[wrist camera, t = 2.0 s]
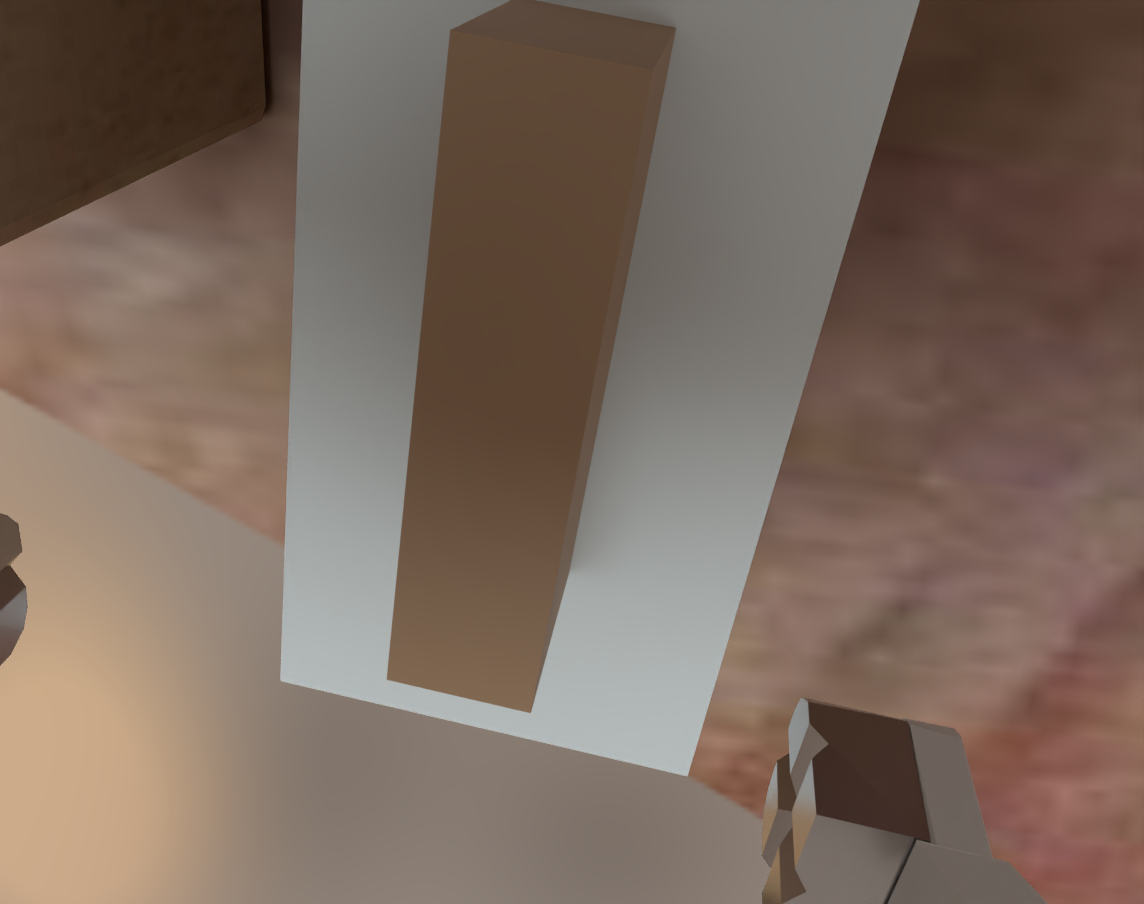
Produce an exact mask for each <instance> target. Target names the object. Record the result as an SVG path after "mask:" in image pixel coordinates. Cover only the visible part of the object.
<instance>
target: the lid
mask: <svg viewBox="0 0 1144 904" xmlns="http://www.w3.org/2000/svg"><path fill="white" fill-rule="evenodd" d="M919 1H920V0H303V14H302V44H301V74H300V104H299V134H298V165H297V195H296V225H295V255H294V285H293V316H292V346H291V376H290V406H289V436H288V467H287V497H286V527H285V558H284V588H283V589H284V590H283V620H282V621H283V622H282V649H281V679H280V681H283V682H287V683H291V684H296V685H300V686H304V687H308V688H313V689H317V690H322V691H325V692H330V693H334V694H338V695H343V696H347V697H351V698H355V699H360V700H364V701H368V702H372V703H377V704H381V705H385V706H389V707H394V708H398V709H403V710H406V711H411V712H415V713H419V714H424V715H428V716H432V717H437V718H441V719H445V720H449V721H453V722H458V723H462V724H466V725H470V726H475V727H480V728H484V729H488V730H492V731H496V732H500V733H505V734H509V735H513V736H517V737H522V738H526V739H530V740H535V741H539V742H544V743H547V744H552V745H556V746H560V747H564V748H569V749H573V750H577V751H581V752H586V753H590V754H594V755H599V756H603V757H607V758H612V759H616V760H620V761H625V762H628V763H633V764H637V765H642V766H646V767H650V768H654V769H658V770H663V771H667V772H671V773H675V774H680V775H684V776H688V773H689V769H690V766H691V763H692V759H693V756H694V753H695V749H696V746H697V743H698V739H699V736H700V732H701V729H702V726H703V722H704V719H705V716H706V712H707V709H708V706H709V702H710V699H711V696H712V692H713V689H714V686H715V682H716V679H717V676H718V672H719V669H720V666H721V662H722V659H723V656H724V652H725V649H726V646H727V642H728V639H729V636H730V632H731V629H732V626H733V622H734V619H735V616H736V612H737V609H738V606H739V602H740V599H741V596H742V592H743V589H744V586H745V582H746V579H747V576H748V572H749V569H750V566H751V562H752V559H753V556H754V552H755V549H756V546H757V542H758V539H759V535H760V532H761V529H762V525H763V522H764V519H765V515H766V512H767V509H768V505H769V502H770V499H771V495H772V492H773V489H774V485H775V482H776V479H777V475H778V472H779V469H780V465H781V462H782V459H783V455H784V452H785V449H786V445H787V442H788V439H789V435H790V432H791V429H792V425H793V422H794V419H795V415H796V412H797V409H798V405H799V402H800V399H801V395H802V392H803V389H804V385H805V382H806V379H807V375H808V372H809V369H810V365H811V362H812V359H813V355H814V352H815V349H816V345H817V342H818V338H819V335H820V332H821V328H822V325H823V322H824V318H825V315H826V312H827V308H828V305H829V302H830V298H831V295H832V292H833V288H834V285H835V282H836V278H837V275H838V272H839V268H840V265H841V262H842V258H843V255H844V252H845V248H846V245H847V242H848V238H849V235H850V232H851V228H852V225H853V222H854V218H855V215H856V212H857V208H858V205H859V202H860V198H861V195H862V192H863V188H864V185H865V182H866V178H867V175H868V172H869V168H870V165H871V162H872V158H873V155H874V152H875V148H876V145H877V141H878V138H879V135H880V131H881V128H882V125H883V121H884V118H885V115H886V111H887V108H888V105H889V101H890V98H891V95H892V91H893V88H894V85H895V81H896V78H897V75H898V71H899V68H900V65H901V61H902V58H903V55H904V51H905V48H906V45H907V41H908V38H909V35H910V31H911V28H912V25H913V21H914V18H915V15H916V11H917V8H918V5H919Z"/></svg>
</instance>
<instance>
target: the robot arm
mask: <svg viewBox="0 0 1144 904" xmlns="http://www.w3.org/2000/svg"><path fill="white" fill-rule="evenodd" d="M21 552H22V546H21V539H20V532H19V526H18V524H17V523H16V522H15V521H14V520H12V519H11V518H10V517H8V516H7V515H4V514H0V665H1V664H2V663H3V662H4V661H5V660H6V659H7V658H8V657H9V656H10V655H11V653H12V651H13V649H14V647H15V645H16V643H17V641H18V639H19V637H20V635H21V633H22V631H23V629H24V624H25V619H26V613H27V607H28V606H27V594H26V586H25V585H24V583H23V582H22V581H21V580H20V578H19V577H18V576H17V574H16V573H15V572H14V570H13V569H12V568H11V566H10V565H11V564H12V563H13V561H14V560H15V559H16V558H17V556H18V555H19V554H20V553H21ZM762 857H763V858H764V860H765V861H766V862H767V864H768V865H769V867H770V868H771V870H770V873H769V875H768V878H767V881H766V884H765V886H764V889H763V892H762V904H1048V903H1047V902H1046V901H1045V900H1044V899H1043V898H1042V897H1041V896H1040V895H1039V894H1038V892H1037V891H1036V890H1035V889H1034V888H1033V887H1032V886H1031V885H1030V884H1029V883H1028V882H1027V881H1026V880H1025V879H1024V878H1023V877H1022V876H1021V875H1020V873H1019V872H1018V871H1017V870H1016V869H1015V868H1014V867H1013V866H1012V865H1011V864H1010V863H1009V862H1007V861H1003V860H999V859H994V858H993V856H992V852H991V848H990V844H989V841H988V837H987V833H986V829H985V825H984V822H983V818H982V814H981V810H980V806H979V802H978V799H977V795H976V791H975V787H974V783H973V780H972V776H971V772H970V768H969V764H968V761H967V757H966V753H965V749H964V745H963V742H962V738H961V736H960V734H959V733H958V732H957V731H956V730H955V729H954V728H949V727H944V726H939V725H934V724H929V723H924V722H920V721H915V720H910V719H905V718H904V719H902V720H901V719H897V718H893V717H888V716H884V715H879V714H875V713H870V712H866V711H862V710H857V709H853V708H848V707H844V706H839V705H835V704H830V703H826V702H821V701H817V700H812V699H808V698H803V697H802V698H801V700H800V701H799V703H798V705H797V707H796V708H795V711H794V714H793V717H792V719H791V722H790V725H789V754H787V755H786V756H784V757H782V758H781V759H779V760H778V761H777V762H776V765H775V769H774V772H773V775H772V778H771V781H770V785H769V788H768V793H767V798H766V803H765V808H764V813H763V825H762Z"/></svg>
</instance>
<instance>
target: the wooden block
mask: <svg viewBox="0 0 1144 904" xmlns="http://www.w3.org/2000/svg"><path fill="white" fill-rule="evenodd" d="M265 107H266V98H265V78H264V57H263V37H262V17H261V0H0V246H2V245H4V244H6V243H8V242H10V241H12V240H14V239H16V238H18V237H20V236H23V235H25V234H27V233H29V232H31V231H33V230H35V229H37V228H39V227H41V226H43V225H45V224H47V223H49V222H52V221H54V220H56V219H58V218H60V217H62V216H64V215H66V214H68V213H70V212H72V211H74V210H76V209H78V208H81V207H83V206H85V205H87V204H89V203H91V202H93V201H95V200H97V199H99V198H101V197H103V196H105V195H108V194H110V193H112V192H114V191H116V190H118V189H120V188H122V187H124V186H126V185H128V184H130V183H132V182H134V181H137V180H139V179H141V178H143V177H145V176H147V175H149V174H151V173H153V172H155V171H157V170H159V169H161V168H163V167H166V166H168V165H170V164H172V163H174V162H176V161H178V160H180V159H182V158H184V157H186V156H188V155H190V154H192V153H195V152H197V151H199V150H201V149H203V148H205V147H207V146H209V145H211V144H213V143H215V142H217V141H219V140H221V139H224V138H226V137H228V136H230V135H232V134H234V133H236V132H238V131H240V130H242V129H244V128H246V127H248V126H250V125H253V124H255V123H257V122H259V121H261V119H262V116H263V113H264V110H265Z"/></svg>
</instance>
